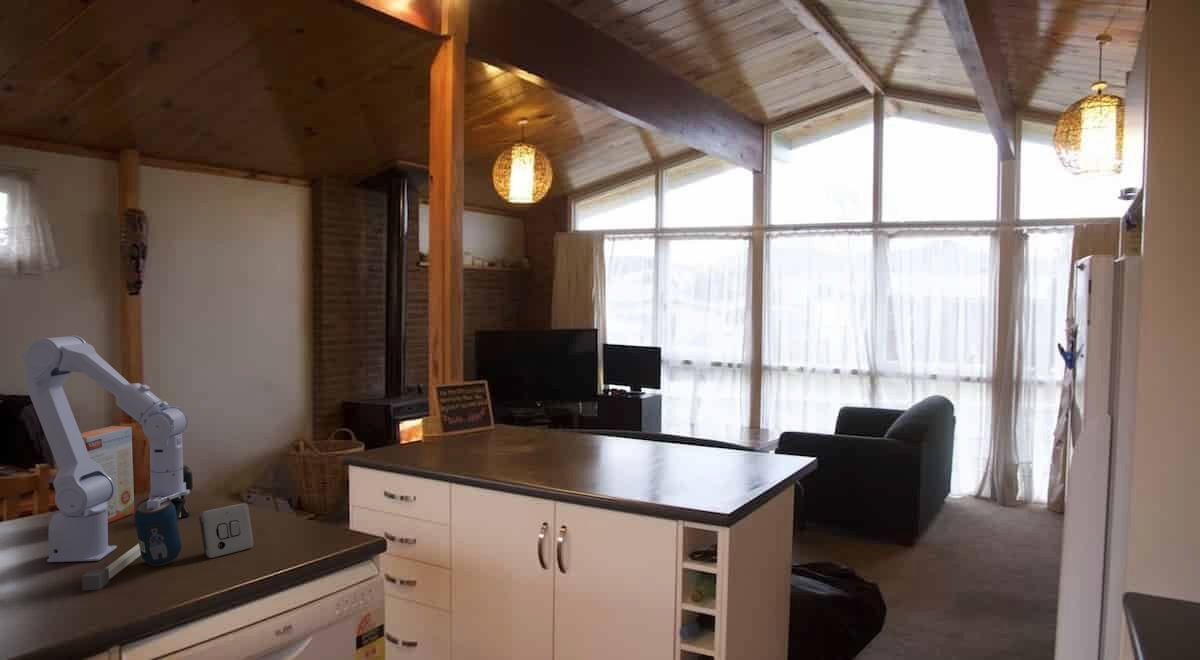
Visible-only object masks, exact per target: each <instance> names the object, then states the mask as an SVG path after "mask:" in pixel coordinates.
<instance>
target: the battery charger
mask: <svg viewBox="0 0 1200 660" xmlns="http://www.w3.org/2000/svg"><path fill="white" fill-rule="evenodd" d="M183 482H186V490H190V492H191V491H192V490H193V488H194V487H193V484H194V483H193V473H192V470H191V469H190V467H188V466H187V465H183ZM185 496H186V495H182V496H179V497H177V498H184V499H185ZM190 515H191V513H190V511H189V509H188V507H185V504H184V505H183V507H182V510H181V512H180V515H179V518H178V519H181V518H185V517H189V516H190Z"/></svg>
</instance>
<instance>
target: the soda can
mask: <svg viewBox="0 0 1200 660" xmlns="http://www.w3.org/2000/svg"><path fill="white" fill-rule="evenodd" d="M154 497H159V496H154ZM161 497H165V496H161ZM148 500H149V497H147V498H144V499H143V500H141V501H140V502H138V504H137V505H136V509H135V511H134V515H133V518H134V523H135V529H136V534H137V541H138V544H139V546H140V552H141V555H140V556H141V559H142V560H143V561H145V562H146V563H147V564H148V565H149V566H163V565H166V564H170V563H171V562H173V561H174V560H176V559H177V558H178V557H179V555H180V552H181V550H182V541H181V535H180V534H181V533H180V529H179V523H178V522H179V521H178V522H177V516H176V509H175V506H174V505H173V503H172V502H171V500H170V499H169V498H168V500H166V501H165V502H163V503H161V504H160V507H159V508H157V509H152V508H154V507H150V508H149V509H147V501H148Z"/></svg>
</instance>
